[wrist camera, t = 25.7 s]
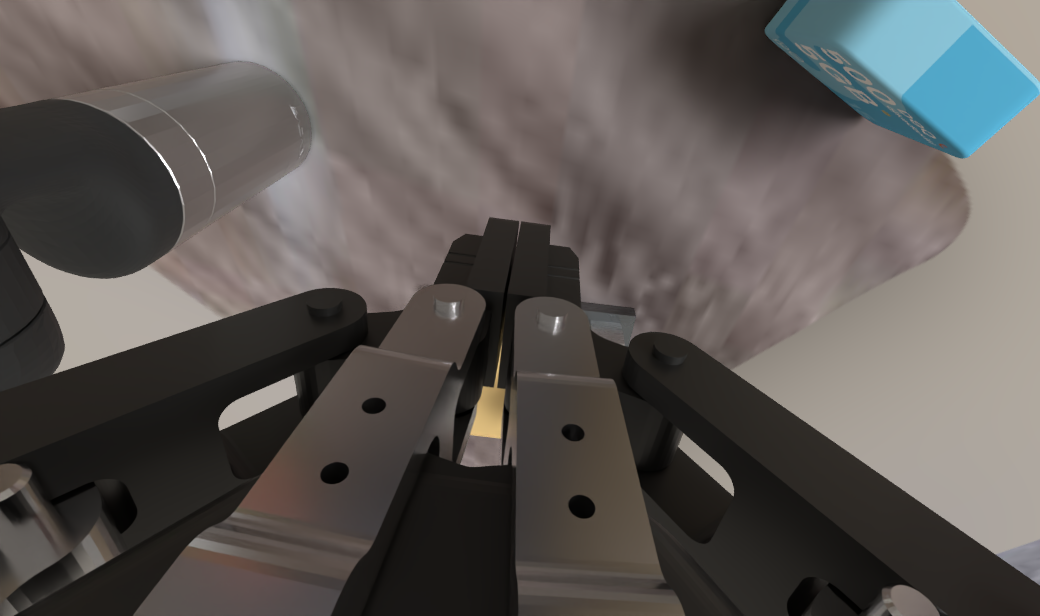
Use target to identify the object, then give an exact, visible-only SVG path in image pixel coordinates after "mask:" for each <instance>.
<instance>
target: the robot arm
mask: <svg viewBox="0 0 1040 616" xmlns="http://www.w3.org/2000/svg"><path fill="white" fill-rule="evenodd" d="M311 140H312V132H311V124H310V119H309V115H308V113H307V111H306V108H305V106H304V104H303V102H302V100H301V99H300V97H299V96H298V94H297V93H296V91H295V90H294V89H293V88H292V87H291V86H290V85H289V83H288V82H287V81H285V80H284V79H283V78H282V77H280V76H279V75H278V74H277V73H275V72H273V71H272V70H270V69H268V68H266V67H264V66H261V65H258V64H255V63H252V62H242V61H238V62H232V63H226V64H221V65H216V66H211V67H205V68H200V69H195V70H190V71H185V72H180V73H175V74H170V75H165V76H160V77H155V78H150V79H145V80H140V81H135V82H130V83H125V84H120V85H115V86H110V87H105V88H100V89H96V90H92V91H87V92H82V93H77V94H72V95H67V96H62V97H57V98H52V99H48V100H41V101H37V102H32V103H27V104H23V105H17V106H12V107H7V108H1V109H0V616H1040V585H1038V584H1037V583H1035V582H1034V581H1033V580H1031V579H1030V578H1028V577H1027V576H1025V575H1024V574H1022V573H1021V572H1020V571H1018V570H1017V569H1015V568H1014V567H1012V566H1011V565H1010V564H1008V563H1007V562H1005V561H1004V560H1002V559H1001V558H1000V557H998V556H997V555H995V554H994V553H992V552H991V551H989V550H988V549H987V548H985V547H984V546H982V545H980V544H979V543H978V542H977V541H975V540H974V539H972V538H971V537H969V536H968V535H966V534H965V533H964V532H962V531H960V530H959V529H958V528H956V527H955V526H954V525H952V524H950V523H949V522H948V521H946V520H945V519H944V518H942V517H941V516H939V515H938V514H936V513H935V512H933V511H932V510H930V509H929V508H928V507H926V506H925V505H923V504H922V503H921V502H919V501H917V500H916V499H915V498H913V497H912V496H910V495H909V494H908V493H906V492H905V491H903V490H902V489H900V488H899V487H898V486H896V485H894V484H893V483H892V482H890V481H889V480H888V479H886V478H885V477H883V476H882V475H880V474H879V473H877V472H876V471H875V470H873V469H871V468H870V467H869V466H867V465H866V464H865V463H863V462H862V461H860V460H859V459H857V458H856V457H855V456H853V455H852V454H850V453H849V452H847V451H846V450H844V449H843V448H841V447H840V446H839V445H837V444H836V443H834V442H833V441H831V440H830V439H828V438H827V437H826V436H824V435H823V434H821V433H820V432H819V431H817V430H815V429H814V428H813V427H811V426H810V425H808V424H807V423H806V422H804V421H803V420H801V419H800V418H799V417H797V416H795V415H794V414H793V413H791V412H790V411H788V410H787V409H786V408H784V407H783V406H781V405H780V404H778V403H777V402H776V401H774V400H773V399H771V398H770V397H768V396H767V395H765V394H764V393H763V392H761V391H760V390H758V389H757V388H755V387H754V386H753V385H751V384H750V383H748V382H747V381H745V380H744V379H742V378H741V377H740V376H738V375H737V374H735V373H734V372H732V371H731V370H730V369H728V368H727V367H725V366H724V365H722V364H721V363H720V362H718V361H717V360H715V359H714V358H712V357H711V356H709V355H708V354H707V353H705V352H704V351H702V350H701V349H699V348H698V347H697V346H695V345H694V344H692V343H690V342H689V341H687V340H685V339H683V338H680V337H678V336H675V335H671V334H667V333H661V332H647V333H642V334H639V335H637V336H635V337H634V338H633V339H632V340H631V341H630V344H629V347H627V346H624V345H621V344H618V343H615V342H612V341H610V340H607V339H605V338H603V337H601V336H599V335H598V334H596V333H594V332H593V331H592V330H591V329H590V326H589V321H588V317H587V315H586V314H585V312H584V311H583V310H582V309H581V297H580V281H579V259H578V257H577V256H576V255H575V253H574V252H573V251H572V250H571V249H570V248H569V247H562V246H555V245H549V244H550V228H551V225H545V224H537V223H529V222H521V226H520V232H519V237H518V228H519V221H514V220H506V219H499V218H491V217H490V218H489V220H488V223H487V226H486V229H485V232H484V235H483V236H478V235H471V234H465V235H463V236H461V237H460V238H458V239H457V240H455V241H453V243H452V245H451V247H450V250H449V252H448V254H447V256H446V258H445V261H444V263H443V265H442V267H441V269H440V272H439V274H438V276H437V278H436V280H435V282H434V285H431V286H428V287H425V288H423V289H421V290H419V291H418V292H416V293H415V294H414V295H413V297H412V298H411V300H410V301H409V303H408V304H407V306H406V307H405V309H404V310H400V311H394V312H380V313H367V305H366V302H365V300H364V299H363V298H362V297H361V296H360V295H358V294H357V293H354V292H352V291H349V290H345V289H338V288H323V289H315V290H311V291H307V292H304V293H301V294H298V295H294V296H291V297H288V298H285V299H282V300H279V301H276V302H273V303H270V304H267V305H264V306H261V307H258V308H255V309H252V310H249V311H246V312H243V313H239V314H236V315H233V316H230V317H227V318H224V319H221V320H218V321H215V322H212V323H209V324H206V325H203V326H200V327H197V328H194V329H191V330H188V331H185V332H182V333H179V334H175V335H172V336H170V337H167V338H163V339H160V340H157V341H154V342H151V343H148V344H145V345H142V346H139V347H136V348H133V349H130V350H127V351H124V352H120V353H117V354H114V355H111V356H108V357H105V358H102V359H99V360H96V361H93V362H90V363H87V364H84V365H81V366H78V367H75V368H71V369H68V370H66V371H63V372H59V373H56V374H53V373H54V372H55V371H56V369H57V368H58V366H59V364H60V362H61V359H62V356H63V353H64V349H65V344H64V340H63V335H62V332H61V329H60V326H59V324H58V321H57V319H56V317H55V315H54V313H53V311H52V309H51V307H50V305H49V304H48V302H47V300H46V298H45V296H44V295H43V293H42V290H41V288H40V286H39V284H38V283H37V281H36V279H35V277H34V275H33V273H32V271H31V270H30V268H29V266H28V264H27V262H26V260H25V259H24V257H23V255H22V253H21V251H20V249H21V250H23V251H24V252H26V253H27V254H29V255H30V256H32V257H34V258H36V259H37V260H39V261H41V262H43V263H45V264H47V265H49V266H51V267H54V268H56V269H59V270H62V271H65V272H68V273H71V274H75V275H78V276H83V277H88V278H101V279H103V278H105V279H108V278H117V277H122V276H126V275H129V274H133V273H135V272H137V271H139V270H141V269H143V268H145V267H147V266H148V265H150V264H151V263H153V262H154V261H156V260H158V259H159V258H161V257H162V256H164V255H165V254H167V253H168V252H170V251H171V250H173V249H174V248H176V247H178V246H179V245H181V244H182V243H184V242H185V241H187V240H188V239H190V238H191V237H193V236H194V235H196V234H197V233H198V232H200V231H202V230H203V229H205V228H206V227H208V226H209V225H211V224H212V223H214V222H215V221H217V220H218V219H220V218H221V217H223V216H224V215H226V214H227V213H229V212H231V211H232V210H234V209H235V208H237V207H238V206H240V205H241V204H243V203H244V202H246V201H247V200H249V199H250V198H252V197H253V196H255V195H257V194H258V193H260V192H261V191H263V190H264V189H266V188H267V187H269V186H270V185H272V184H274V183H275V182H277V181H278V180H280V179H281V178H282V177H284V176H285V175H287V174H288V173H290V172H291V171H293V170H294V169H296V168H297V167H299V166H300V165H301V163H302V162H303V161H304V160H305V159H306V156H307V154H308V152H309V150H310V145H311ZM517 237H518V242H517ZM516 245H517V247H516ZM19 248H20V249H19ZM501 346H502V348H501ZM500 351H501V357H500ZM499 357H500V366H499V375H498V384H497V388H501V389H505V396H504V405H503V413H502V423H501V445H500V465H498V466H485V467H467V466H463V465H460V464H461V461H462V458H463V455H464V452H465V448H466V445H467V442H468V439H469V436H470V433H471V430H472V427H473V424H474V420H475V417H476V413H477V403H478V401H479V400H480V397H481V394H482V389H483V386H485V387H492V388H494V384H495V379H496V373H497V368H498V362H499ZM52 374H53V375H52ZM292 375H294V378H295V384H296V390H297V396H294V397H292V398H290V399H288V400H286V401H283V402H282V403H279V404H277V405H275V406H273V407H271V408H269V409H266V410H264V411H262V412H260V413H258V414H256V415H253V416H251V417H249V418H247V419H245V420H243V421H240V422H238V423H236V424H234V425H232V426H230V427H228V428H225V429H223V430H221V431H219V427H218V420H219V417H220V415H221V413H222V412H223V411H224V409H225V408H226V407H227V406H228V405H230V404H231V403H232V402H234V401H235V400H237V399H239V398H241V397H244V396H246V395H248V394H251V393H253V392H255V391H257V390H260V389H262V388H264V387H266V386H269V385H271V384H274V383H276V382H278V381H280V380H282V379H285V378H287V377H290V376H292ZM683 433H684V434H685V435H686V436H687V437H689V438H690V439H691V440H692V441H693V442H694V443H696V444H697V445H698V446H699V447H700V448H701V449H703V450H704V451H705V452H706V453H707V454H708V455H709V456H711V457H712V458H713V459H714V460H715V461H717V462H718V463H719V464H720V465H721V466H722V467H723V468H724V469H725V470H726V472H727V473H728V474H729V476H730V478H731V480H732V483H733V486H734V497H733V496H732V495H731V494H730V493H729V492H728V491H726V490H725V489H724V488H723V487H722V486H721V485H720V484H719V483H718V482H717V481H715V480H714V479H713V478H712V477H711V476H710V475H709V474H708V473H706V472H705V471H704V470H703V469H702V468H701V467H700V466H699V465H697V464H696V463H695V462H694V461H693V460H692V459H691V458H690V457H689V456H687V455H686V454H685V453H684V452H683V451H682V450H681V449H680V448H679V447H678V445H679V443H680V440H681V437H682V435H683Z"/></svg>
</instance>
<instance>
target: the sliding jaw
mask: <svg viewBox="0 0 1040 616" xmlns="http://www.w3.org/2000/svg"><path fill="white" fill-rule="evenodd" d="M501 348H502V346H501ZM500 357H501V351H500ZM500 357H499V362H498V368H497V373H496V379H495V384H494V388H492V387H485V386H483V389H482V394H481V397H480V400H479V401H478V403H477V413H476V417H475V420H474V424H473V427H472V430H471V433H470V435H475V436H484V437H492V438H501V423H502V413H503V405H504V396H505V389H501V388H497V384H498V375H499V366H500Z"/></svg>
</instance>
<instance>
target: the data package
mask: <svg viewBox="0 0 1040 616" xmlns="http://www.w3.org/2000/svg"><path fill="white" fill-rule="evenodd" d="M765 34H766V35H767V37H768V38H769V39H770V40H771V41H772V42H774V43H775V44H776V45H777V46H778V47H780V48H781V49H782V50H783V51H784V52H786V53H787V54H788V55H789V56H790V57H792V58H793V59H794V60H795V61H796V62H798V63H799V64H800V65H801V66H802V67H804V68H805V69H806V70H807V71H808V72H810V73H811V74H812V75H813V76H814V77H816V78H817V79H818V80H819V81H820V82H822V83H823V84H824V85H825V86H826V87H828V88H829V89H830V90H831V91H832V92H834V93H835V94H836V95H837V96H838V97H840V98H841V99H842V100H843V101H844V102H846V103H847V104H848V105H849V106H850V107H852V108H853V109H854V110H855V111H856V112H858V113H859V114H860V115H862V116H863V117H865V118H866V119H868V120H869V121H871V122H872V123H874V124H876V125H878V126H881V127H883V128H886V129H888V130H891V131H893V132H896V133H898V134H901V135H903V136H906V137H908V138H911V139H913V140H915V141H918V142H920V143H923V144H925V145H928V146H930V147H933V148H935V149H938V150H940V151H943V152H945V153H948V154H950V155H953V156H955V157H958V158H967V157H969V156H970V155H971V154H973V153H974V152H975V151H976V150H977V149H978V148H979V147H980V146H982V145H983V144H984V143H985V142H986V141H987V140H988V139H990V138H991V137H992V136H993V135H994V134H995V133H996V132H998V131H999V130H1000V129H1001V128H1002V127H1003V126H1004V125H1006V124H1007V123H1008V122H1009V121H1010V120H1011V119H1012V118H1013V117H1015V116H1016V115H1017V114H1018V113H1019V112H1020V111H1021V110H1022V109H1024V108H1025V107H1026V106H1027V105H1028V104H1029V103H1031V102H1032V101H1033V100H1034V99H1035V98H1036V97H1037V96H1038V95H1039V94H1040V83H1039V81H1038V80H1037V79H1036V78H1035V77H1034V76H1033V75H1032V74H1031V73H1030V72H1029V71H1028V70H1027V69H1026V68H1025V67H1024V66H1023V65H1022V64H1021V63H1020V62H1019V61H1018V60H1017V59H1016V58H1015V57H1014V56H1013V55H1011V54H1010V53H1009V52H1008V51H1007V50H1006V49H1005V48H1004V47H1003V46H1002V45H1001V44H1000V43H999V42H998V41H997V40H996V39H995V38H994V37H993V36H992V35H991V34H990V33H989V32H988V31H987V30H986V29H985V28H984V27H983V26H982V25H981V24H980V23H979V22H978V21H977V20H976V19H974V17H972V15H970V14H969V13H968V12H967V11H966V10H965V9H964V8H963V7H962V6H961V5H960V4H959V3H958V2H957V1H956V0H787V1H786V2H785V3H784V5H783V6H782V7H781V9H780V10H779V11H778V12H777V14H776V15H775V16H774V17H773V19H772V20H771V21H770V22H769V24H768V25H767V26H766V28H765Z"/></svg>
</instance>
